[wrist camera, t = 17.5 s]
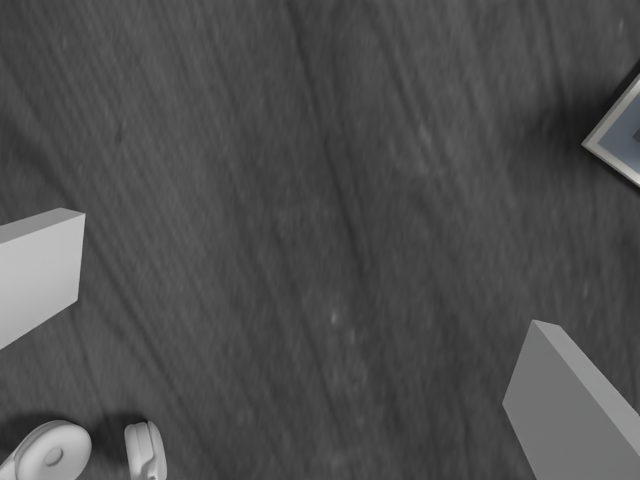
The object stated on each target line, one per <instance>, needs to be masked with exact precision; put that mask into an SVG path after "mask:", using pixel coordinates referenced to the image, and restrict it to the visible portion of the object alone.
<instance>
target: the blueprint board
mask: <svg viewBox="0 0 640 480" xmlns="http://www.w3.org/2000/svg"><path fill="white" fill-rule="evenodd" d="M581 145H582V146H584V147H585V148H586V149H588V150H589V151H590V152H592V153H593V154H595V155H596V156H597V157H599V158H600V159H601V160H603V161H604V162H606V163H607V164H608V165H610V166H611V167H612V168H614V169H615V170H617V171H618V172H619V173H621V174H622V175H623V176H625V177H626V178H627V179H629V180H630V181H632V182H633V183H634V184H636V185H637V186H638V187H640V73H639V74H638V76H637V77H636V78H635V79H634V81H633V82H632V83H631V84H630V85H629V87H628V88H627V89H626V90H625V91H624V93H623V94H622V95H621V96H620V97H619V99H618V100H617V101H616V102H615V104H614V105H613V106H612V107H611V108H610V110H609V111H608V112H607V113H606V114H605V116H604V117H603V118H602V119H601V121H600V122H599V123H598V124H597V125H596V127H595V128H594V129H593V130H592V131H591V133H590V134H589V135H588V136H587V138H586V139H585V140H584V141H583V142H582V144H581Z"/></svg>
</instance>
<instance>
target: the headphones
mask: <svg viewBox="0 0 640 480" xmlns="http://www.w3.org/2000/svg"><path fill="white" fill-rule="evenodd" d="M125 442H126V449H127V456H128V462H129V469H130V475H131V480H166V477H167V466H166V458H165V452H164V447H163V443H162V439H161V435H160V432H159V430H158V428H157V427H156V426H155V425H154V423H153V422H152V421H148V423H145V422H141V423H138V424H135V425H134V424H131V425H128V426H127V427H126V429H125ZM90 453H91V439H90V436H89V434H88V432H87V431H86V430H85V429H84V428H82V427H81V426H79V425H75V424H73V423H70V422H68V421H64V420H55V421H50V422H47V423H45V424H43V425H41V426H39V427H37V428H36V429H34V430H33V431H32V432H31V433H29V434H28V435H27V436H26V437H25V438H24V440H23V441H22V442H21V443H20V444H19V446H18V447H17V448H16V449H15V450H14V451H13V452H12V454H11V455H10V456H9V457H8V458H7V459H6V460H5V461H4V462H3V463H2V465H1V466H0V480H75V479H76V478H77V477H78V476H79V474H80V473H81V472H82V471H83V469H84V468H85V466H86V464H87V462H88V460H89V457H90Z"/></svg>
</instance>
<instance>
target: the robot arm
mask: <svg viewBox="0 0 640 480" xmlns="http://www.w3.org/2000/svg"><path fill="white" fill-rule="evenodd" d="M84 222H85V213H80V212H76V211H72V210H68V209H63V208H58V209H54V210H51V211H48V212H45V213H42V214H38V215H35V216H32V217H29V218H25V219H22V220H19V221H16V222H13V223H9V224H6V225H3V226H0V350H1V349H2V348H4V347H5V346H7V345H8V344H10V343H12V342H13V341H15V340H16V339H18V338H19V337H21V336H22V335H24V334H26V333H27V332H29V331H30V330H32V329H33V328H35V327H36V326H38V325H40V324H41V323H43V322H44V321H46V320H47V319H49V318H50V317H52V316H53V315H55V314H57V313H58V312H60V311H61V310H63V309H64V308H66V307H67V306H69V305H71V304H72V303H74V302H75V301H77V298H78V287H79V276H80V266H81V255H82V244H83V233H84ZM502 404H503V406H504V408H505V411H506V413H507V415H508V417H509V419H510V422H511V424H512V426H513V428H514V430H515V433H516V435H517V437H518V439H519V441H520V444H521V446H522V448H523V450H524V452H525V455H526V457H527V459H528V461H529V463H530V466H531V468H532V470H533V472H534V474H535V477H536V479H537V480H640V416H639V415H638V414H637V413H636V412H635V410H634V409H633V408H632V407H631V406H630V405H629V404H628V403H627V401H626V400H625V399H624V398H623V397H622V396H621V395H620V394H619V392H618V391H617V390H616V389H615V388H614V387H613V386H612V385H611V383H610V382H609V381H608V380H607V379H606V378H605V377H604V376H603V374H602V373H601V372H600V371H599V370H598V369H597V368H596V366H595V365H594V364H593V363H592V362H591V361H590V360H589V359H588V357H587V356H586V355H585V354H584V353H583V352H582V351H581V350H580V348H579V347H578V346H577V345H576V344H575V343H574V342H573V341H572V339H571V338H570V337H569V336H568V335H567V334H566V333H565V332H564V330H563V329H562V328H561V327H560V326H558V325H554V324H550V323H546V322H541V321H537V320H533V319H532V322H531V324H530V327H529V330H528V333H527V336H526V338H525V341H524V344H523V347H522V350H521V352H520V355H519V358H518V361H517V364H516V367H515V369H514V372H513V375H512V378H511V381H510V383H509V386H508V389H507V392H506V395H505V397H504V400H503V403H502Z"/></svg>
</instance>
